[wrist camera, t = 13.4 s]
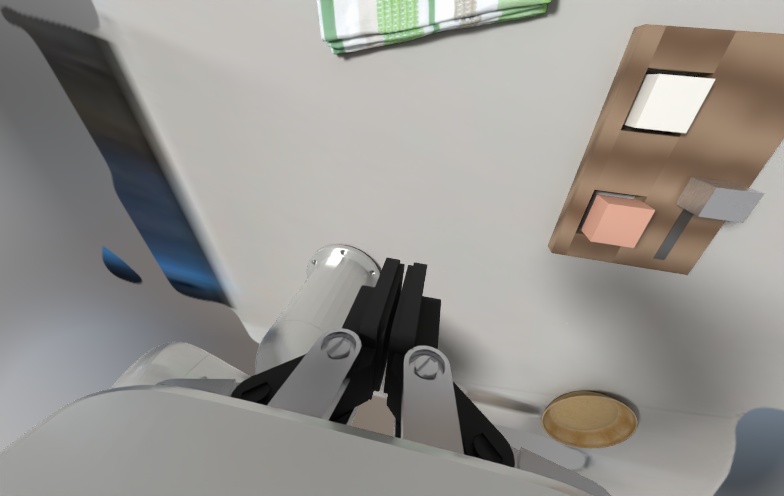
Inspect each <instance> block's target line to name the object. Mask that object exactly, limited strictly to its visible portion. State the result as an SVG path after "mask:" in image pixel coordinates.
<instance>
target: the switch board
mask: <svg viewBox="0 0 784 496" xmlns="http://www.w3.org/2000/svg"><path fill="white" fill-rule="evenodd" d="M647 69H650V70H661V71H673V72H684V73H696V74H699V75H698V76H697V77H700V78H712V79H715V81H714V83H713V85H712V87H711V89H710V90H709V92H708V94H707V96H706V98H705V100H704V101H703V103H702V105H701V107H700V109H699V111H698V112H697V114H696V116H695V118H694V120H693V122H692V123H691V125H690V127H689V129H688V131H687V133H679V132H670V131H669V133H668V134H663V133H654V132H645V131H636V130H627V129H621V128H622V126H623V124H624V121H625V119H626V117H627V115H628V112H629V110H630V108H631V105H632V103H633V101H634V99H635V96H636V94H637V92H638V89H639V87H640V85H641V83H642V80H643V78H644V76H645V74H646V71H647ZM783 138H784V34H776V33H761V32H747V31H733V30H719V29H705V28H690V27H676V26H662V25H648V24H645V25H642V26H639V27H635V28H634V30H633V33H632V35H631V38H630V40H629V43H628V45H627V48H626V50H625V53H624V56H623V58H622V61H621V63H620V66H619V68H618V71H617V73H616V76H615V78H614V81H613V83H612V86H611V88H610V91H609V93H608V96H607V98H606V101H605V103H604V106H603V108H602V111H601V113H600V116H599V118H598V121H597V123H596V126H595V129H594V131H593V134H592V136H591V139H590V141H589V144H588V146H587V149H586V151H585V154H584V156H583V159H582V161H581V164H580V166H579V169H578V171H577V174H576V176H575V179H574V181H573V184H572V186H571V189H570V191H569V194H568V196H567V199H566V201H565V204H564V207H563V209H562V212H561V214H560V217H559V219H558V222H557V224H556V227H555V229H554V232H553V234H552V237H551V239H550V242H549V244H548V247H549V249H550V250H551V252H552V253H555V254H562V255H568V256H574V257H580V258H586V259H593V260H599V261H605V262H611V263H617V264H624V265H630V266H636V267H642V268H648V269H655V270H661V271H667V272H673V273H679V274H686V275H688V273H689V272H690V270H691V269H692V268H693V266H694V265H695V263H696V262H697V261H698V259H699V258H700V256H701V255H702V253H703V252H704V251H705V249H706V248H707V246H708V245H709V244H710V242H711V241H712V239H713V238H714V236H715V235H716V234H717V232H718V231H719V229H720V228H721V226H722V225H723V224H724V222H725V221H726V220H719V219H712V218H705V217H698V216H696V215H694V214H693V213H691V212H689V211H687V210H686V209H684V208H682V207H680V206H678V205H677V204H676V202H677V200H678V199H679V197H680V195H681V194H682V192H683V190H684V189H685V187H686V185H687V184H688V182H689V180H690V179H691V177H695V178H703V179H711V180H719V181H727V182H734V183H737V184H740V185H742V186H745V187H748V188H749V187H750V185H751V184H752V182H753V181H754V180H755V178H756V177H757V175H758V174H759V173H760V171H761V170H762V168H763V167H764V165H765V164H766V163H767V161H768V160H769V158H770V157H771V155H772V154H773V153H774V151H775V150H776V148H777V147H778V146H779V144H780V143H781V141H782V140H783ZM594 190H601V191H608V192H615V193H623V194H630V195H636V196H635V198H634V200H641V201H642V202H644V203H645V204H647V205H648V206H650V207H651V208H653V209H654V210H655V212H654V214H653V215H652V217H651V219H650V221H649V222H648V224H647V226H646V228H645V230H644V231H643V233H642V235H641V237H640V238H639V240H638V242H637V244H636V245H635V247H634V248H630V247H624V246H617V245H611V244H604V243H598V242H591V241H590V240H589V239H588V238H587V236H586V235H585V234H584V233H583V232H582V228H578V226H579V224H580V221H581V219H582V217H583V215H584V212H585V210H586V208H587V206H588V203H589V201H590V199H591V196H592V194H593V192H594Z"/></svg>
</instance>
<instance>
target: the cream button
mask: <svg viewBox="0 0 784 496" xmlns="http://www.w3.org/2000/svg"><path fill="white" fill-rule="evenodd" d="M714 81H715V79H712V78H700V77H689V76H678V75H666V74H645V76H644V78H643V80H642V83H641V85H640V87H639V89H638V92H637V94H636V96H635V99H634V101H633V103H632V105H631V108H630V110H629V112H628V115H627V117H626V119H625V121H624V124H623V125H627V126H630V127H634V128H643V129H652V130H661V131H670V132H679V133H687V131H688V129H689V127H690V125H691V123H692V122H693V120H694V118H695V116H696V114H697V112H698V111H699V109H700V107H701V105H702V103H703V101H704V100H705V98H706V96H707V94H708V92H709V90H710V89H711V87H712V85H713V83H714Z"/></svg>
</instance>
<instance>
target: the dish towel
mask: <svg viewBox="0 0 784 496" xmlns="http://www.w3.org/2000/svg"><path fill="white" fill-rule="evenodd" d="M551 1H552V0H317V6H318V14H319V24H320V29H321V39H322V40H323V41H328V43H327V45H328V46H329V47H331V52H332V54H338V53H347V52H354V51H358V50H362V49H368V48H373V47H378V46H383V45H387V44H393V43H399V42H405V41H408V40H413V39H415V38H420V37H423V36H425V35H429V34H433V33H436V32H440V31H444V30H452V29H462V28H469V27H476V26H480V25H483V24H492V23H494V22H495V23H496V22H503V21H510V20H516V19H521V18H527V17H530V16H537V15H542V14H545V13H546V9H547V4H548V3H550V2H551Z"/></svg>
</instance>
